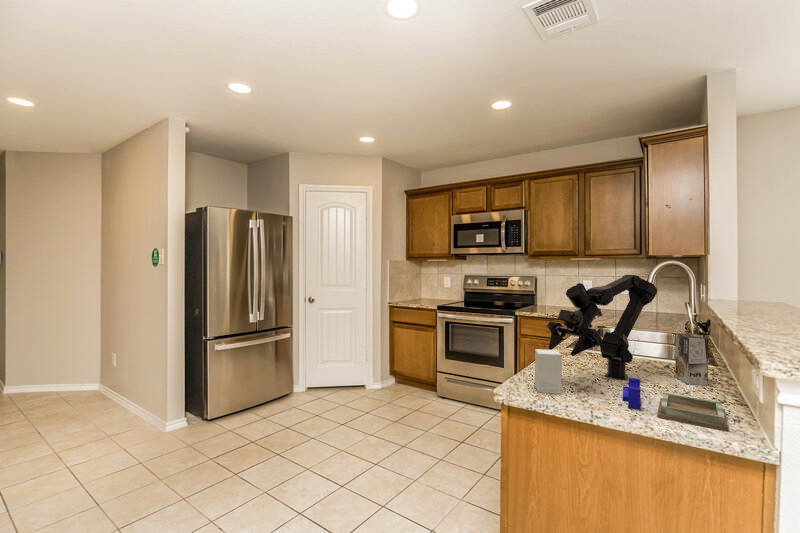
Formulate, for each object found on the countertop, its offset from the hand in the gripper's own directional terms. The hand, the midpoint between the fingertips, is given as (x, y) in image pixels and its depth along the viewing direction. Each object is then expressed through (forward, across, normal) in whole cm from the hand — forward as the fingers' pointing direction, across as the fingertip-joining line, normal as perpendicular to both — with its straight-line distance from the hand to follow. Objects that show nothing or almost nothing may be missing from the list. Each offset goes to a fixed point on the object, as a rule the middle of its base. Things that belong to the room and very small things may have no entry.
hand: (560, 352), depth 133 cm
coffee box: (-25, +15, +42) cm, 51 cm away
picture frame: (-2, +33, +18) cm, 37 cm away
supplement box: (+12, 0, +5) cm, 13 cm away
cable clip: (+2, +19, +15) cm, 24 cm away
